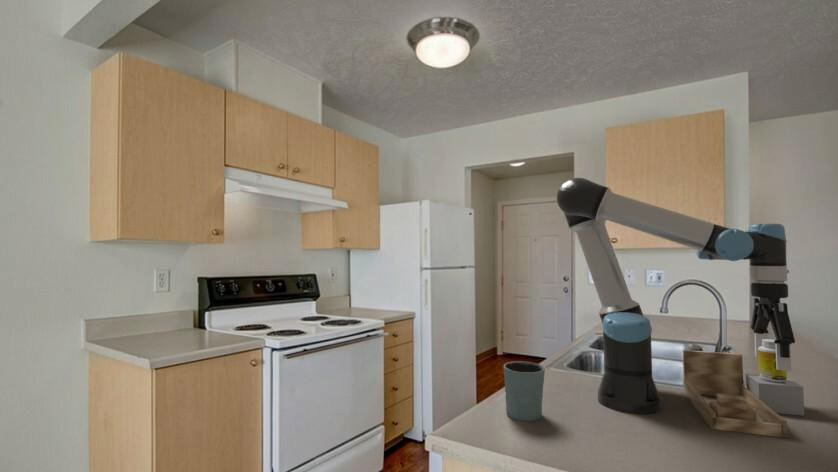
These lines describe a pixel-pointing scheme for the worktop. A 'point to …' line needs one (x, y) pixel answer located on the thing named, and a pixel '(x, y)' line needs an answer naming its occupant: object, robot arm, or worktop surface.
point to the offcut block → (731, 401)
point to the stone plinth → (778, 394)
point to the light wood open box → (726, 392)
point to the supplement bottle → (769, 362)
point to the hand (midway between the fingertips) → (772, 363)
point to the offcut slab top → (734, 412)
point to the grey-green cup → (524, 390)
